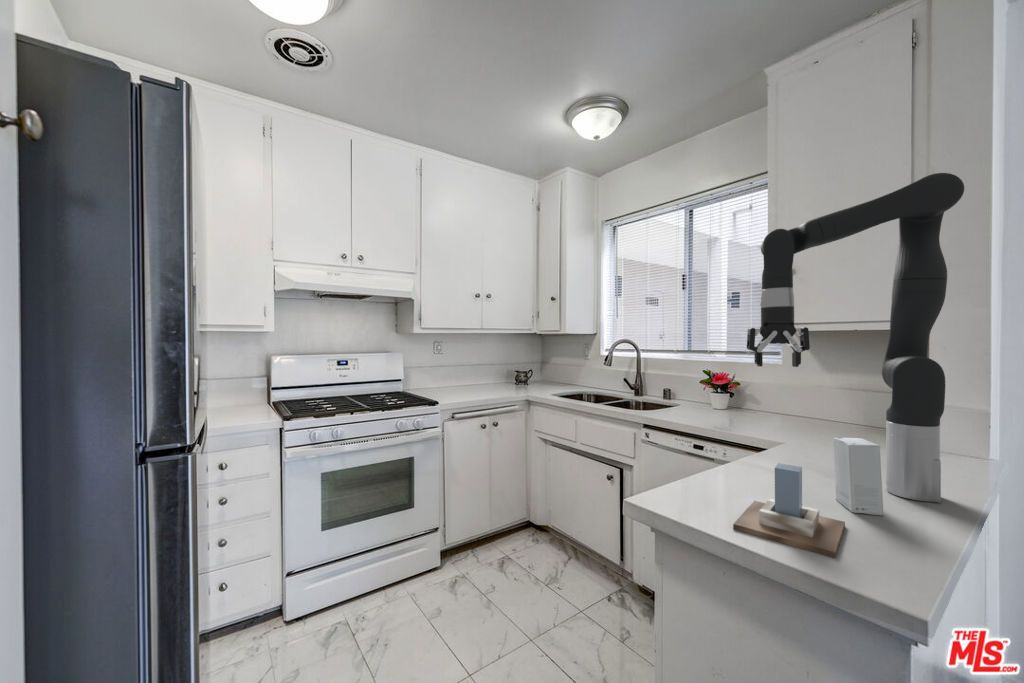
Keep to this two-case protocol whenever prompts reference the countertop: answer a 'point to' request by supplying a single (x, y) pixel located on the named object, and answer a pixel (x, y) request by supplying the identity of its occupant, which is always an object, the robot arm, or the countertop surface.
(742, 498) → the countertop surface
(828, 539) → the socket board
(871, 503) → the skincare box
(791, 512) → the plug
